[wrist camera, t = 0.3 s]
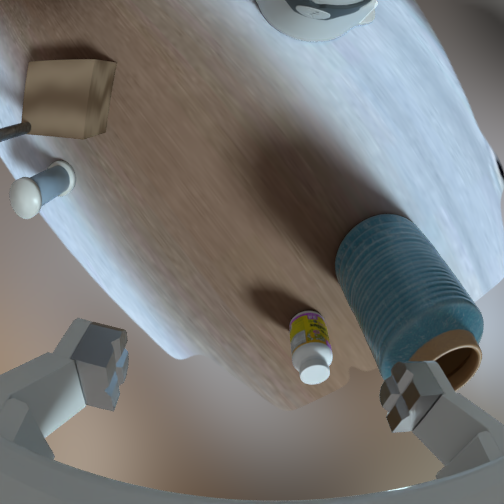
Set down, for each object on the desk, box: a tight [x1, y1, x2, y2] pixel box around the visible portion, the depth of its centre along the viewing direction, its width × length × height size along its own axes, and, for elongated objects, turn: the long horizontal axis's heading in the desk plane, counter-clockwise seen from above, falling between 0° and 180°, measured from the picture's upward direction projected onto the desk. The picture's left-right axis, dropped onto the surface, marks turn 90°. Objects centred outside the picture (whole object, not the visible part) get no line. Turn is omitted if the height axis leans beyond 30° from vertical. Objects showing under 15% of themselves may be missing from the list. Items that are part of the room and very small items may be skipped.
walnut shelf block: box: [22, 59, 117, 139], centre depth 37 cm, size 11×12×7 cm
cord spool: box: [9, 161, 76, 219], centre depth 41 cm, size 6×6×11 cm
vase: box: [335, 214, 484, 392], centre depth 39 cm, size 16×16×27 cm
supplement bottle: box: [289, 311, 333, 384], centre depth 52 cm, size 7×7×13 cm
